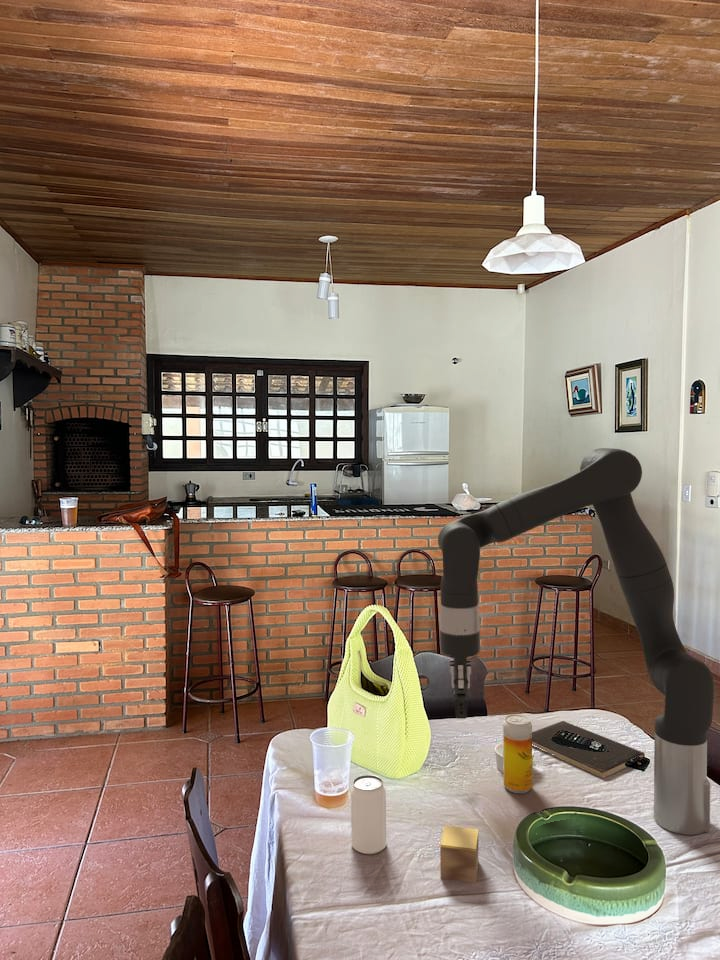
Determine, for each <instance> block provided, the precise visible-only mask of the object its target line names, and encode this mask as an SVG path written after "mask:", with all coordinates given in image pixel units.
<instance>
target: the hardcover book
mask: <svg viewBox="0 0 720 960" xmlns="http://www.w3.org/2000/svg"><path fill="white" fill-rule="evenodd" d="M562 730H563V731H568V732H571V733H574V734H577V735H579V736H583V737H586V738H589V739H593V740H594V741H596V742H599V743H601V744H603V745H605V746H604V747H605V749H606V752H593V751H588V750H583V749H582V750H581V749H578V748H573V747H567V746H563V745H562V746H561V745H559V744H556V743H555V742H553V741H552V740H551V739H552V737H553V736H554V735H555V734H556V733H557V732H558V731H562ZM599 743H598V744H599ZM532 744H533V745H535V746H537V747H539V748H541V749H543V750H545V751H547V752H549V753H551V754H554V755H555V756H557V757H559V758H558V759H560V758H561V759H560V760H562V759H563V761H564V760H565V762H567V763H569V764H571V765H573V766H575V767H577V768H579V769H582V770H584V771H586V772H589V774H590V773H591V774H593V775H595V776H597V777H599V778H602V779H604V778H606V777H608V776H610V775H613V774H615V773H616V772H619V771H621V770H623V769H625V768H626V767H625V763H626V762H627V761H629V760H631V759H634V758H636V757H638V756H639V757H645V758H646V755H645V752H644V751H641V750H639V749H635V748H633V747H630V746H628V745H625V744H622V743H621V742H618V741H615V740H612V739H610V738H607V737H605V736H603V735H600V734H598V733H594V732H593V731H590V730H587V729H584V728H582V727H579V726H577V725H575V724H572V723H570V722H567V721H566V720H561V721H559V722H557V723H553V724H551V725H547V726H546V727H543V728H540V729H537V730H535V731H532ZM606 745H608V746H607V747H606ZM612 748H613V749H612ZM607 751H609V752H607ZM549 753H548V754H549ZM551 754H550V755H551ZM555 756H554V757H555ZM557 757H556V758H557Z"/></svg>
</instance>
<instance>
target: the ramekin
mask: <svg viewBox="0 0 720 960" xmlns="http://www.w3.org/2000/svg"><path fill="white" fill-rule="evenodd" d="M494 753H495V761H496V762H495V763H496V767H497V769H498V770H499V771H500V772H501V773H503V742H500V743H498V744H496V745H495V747H494ZM534 756H535V750H534V748H532V767H533V764H534Z"/></svg>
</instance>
